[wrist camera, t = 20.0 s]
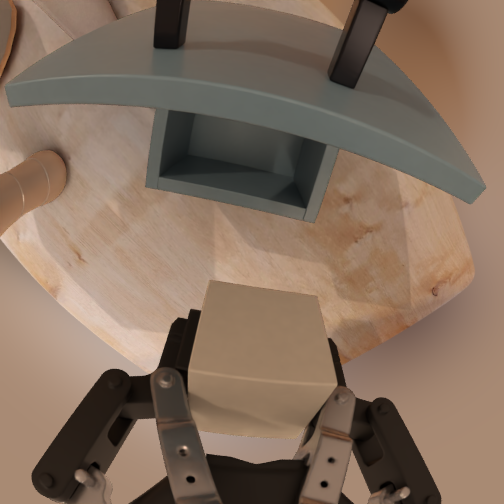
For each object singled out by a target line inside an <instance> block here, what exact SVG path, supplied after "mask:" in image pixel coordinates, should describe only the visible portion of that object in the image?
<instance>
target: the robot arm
mask: <svg viewBox="0 0 504 504" xmlns="http://www.w3.org/2000/svg"><path fill="white" fill-rule="evenodd" d="M200 315H201V311H200V310H194V309H190V312H189V316H188V319H184V318H179V317H178V318H177V319H176V320H175V321H174V322H173V323H172V325H171V328H170V331H169V334H168V337H167V341H166V343H165V347H164V350H163V353H162V356H161V359H160V363H159V366H158V367H157V369H156V370H155V371H154V372H153V373H151V374H149V375H146V376H129V375H128V374H127V373H126V372H124V371H123V370H120V369H110V370H107V371H105V372H104V373H103V374H102V375H101V377H100V378H99V379H98V381H97V382H96V383H95V384H94V386H93V387H92V388H91V390H90V391H89V392H88V394H87V395H86V396H85V398H84V399H83V400H82V402H81V403H80V404H79V406H78V407H77V409H76V410H75V411H74V413H73V414H72V415H71V417H70V418H69V419H68V421H67V422H66V424H65V425H64V427H63V428H62V429H61V431H60V432H59V433H58V435H57V436H56V438H55V439H54V441H53V442H52V443H51V445H50V446H49V448H48V449H47V451H46V452H45V453H44V455H43V456H42V458H41V459H40V461H39V462H38V464H37V465H36V467H35V468H34V470H33V472H32V482H33V485H34V487H35V489H36V490H37V491H38V492H39V493H40V494H41V495H43V496H45V497H47V498H49V499H51V500H52V501H55V502H57V503H59V504H111V499H110V497H111V494H112V484H111V481H110V480H109V479H108V478H107V476H105V473H106V471H107V470H108V468H109V466H110V465H111V463H112V461H113V460H114V458H115V456H116V454H117V453H118V451H119V449H120V448H121V446H122V445H123V443H124V441H125V440H126V438H127V436H128V434H129V433H130V431H131V429H132V428H133V426H134V424H135V423H136V421H137V419H149V418H156V424H157V430H158V435H159V440H160V445H161V450H162V454H163V459H164V463H165V467H166V471H167V476H166V477H165V478H164V479H162V480H161V481H160V482H158V483H157V484H156V485H154V486H153V487H152V488H150V489H149V490H147V491H146V492H145V493H144V494H142V495H141V496H139V497H138V498H137V499H135V500H133V501H132V502H130V503H129V504H354V503H353V502H351V501H350V500H349V499H348V498H347V497H346V496H345V495H344V494H343V493H342V492H341V491H342V487H343V483H344V480H345V476H346V472H347V467H348V464H349V459H350V455H351V451H353V453H354V455H355V458H356V460H357V463H358V465H359V467H360V469H361V472H362V474H363V476H364V479H365V481H366V483H367V486H368V488H369V491H370V493H371V496H370V498H369V500H368V504H441V495H440V493H439V491H438V488H437V486H436V484H435V482H434V480H433V478H432V476H431V474H430V472H429V470H428V468H427V466H426V464H425V462H424V460H423V458H422V456H421V454H420V452H419V450H418V448H417V446H416V445H415V443H414V441H413V439H412V437H411V435H410V433H409V431H408V429H407V427H406V426H405V424H404V422H403V420H402V418H401V416H400V415H399V413H398V411H397V409H396V407H395V406H394V404H393V403H392V402H391V401H390V400H389V399H386V398H377V399H375V400H374V401H373V402H369V401H365V400H362V399H359V398H356V397H355V395H354V394H353V392H352V391H351V390H350V389H348V388H347V387H346V383H345V379H344V374H343V370H342V366H341V363H340V358H339V356H338V355H339V354H338V350H337V346H336V344H335V343H334V342H333V340H332V339H331V338H328V342H329V346H330V351H331V355H332V360H333V364H334V369H335V373H336V378H337V383H338V384H337V387H336V388H335V389H334V391H333V392H332V394H331V395H330V396H329V398H328V399H327V400H326V402H325V403H324V404H323V406H322V407H321V408H320V410H319V411H318V412H317V413H316V415H315V416H314V417H313V419H312V420H311V421H310V422H309V423H308V425H307V426H306V428H305V431H304V434H303V437H302V440H301V443H300V445H299V448H298V451H297V452H296V454H295V456H294V458H293V459H292V460H277V461H271V462H266V463H261V464H253V463H249V462H246V461H243V460H240V459H236V458H233V457H228V456H219V455H212V454H206V456H205V453H204V450H203V447H202V443H201V440H200V437H199V433H198V429H197V426H196V423H195V421H194V419H193V418H192V414H191V410H190V406H189V402H188V368H189V363H190V359H191V354H192V350H193V345H194V341H195V336H196V332H197V328H198V323H199V319H200Z"/></svg>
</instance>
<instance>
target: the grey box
mask: <svg viewBox="0 0 504 504" xmlns="http://www.w3.org/2000/svg"><path fill="white" fill-rule="evenodd" d="M338 152H339V148H337V147H334V146H331V145H328V144H324V143H321V142H318V141H315V140H311V139H308V138H304V137H301V136H297V135H294V134H290V133H286V132H282V131H279V130H275V129H271V128H266V127H262V126H258V125H253V124H249V123H244V122H240V121H235V120H230V119H225V118H219V117H214V116H208V115H202V114H196V113H189V112H182V111H174V110H166V109H158V108H156V111H155V117H154V123H153V129H152V136H151V143H150V150H149V158H148V166H147V175H146V185H145V187H147V188H152V189H158V190H163V191H168V192H174V193H179V194H184V195H189V196H194V197H199V198H204V199H209V200H214V201H218V202H223V203H228V204H232V205H237V206H242V207H246V208H251V209H255V210H259V211H264V212H268V213H272V214H277V215H281V216H285V217H289V218H293V219H297V220H303V221H306V222H310V223H315V221H316V218H317V215H318V212H319V209H320V206H321V204H322V201H323V198H324V195H325V192H326V189H327V186H328V183H329V180H330V177H331V174H332V170H333V167H334V164H335V161H336V158H337V155H338Z"/></svg>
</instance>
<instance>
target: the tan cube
mask: <svg viewBox="0 0 504 504" xmlns="http://www.w3.org/2000/svg"><path fill="white" fill-rule="evenodd" d="M337 384H338V383H337V378H336V373H335V369H334V364H333V360H332V355H331V351H330V346H329V342H328V338H327V334H326V330H325V325H324V321H323V317H322V313H321V309H320V305H319V301H318V297H317V296H315V295H307V294H300V293H293V292H286V291H279V290H272V289H265V288H258V287H252V286H245V285H239V284H233V283H226V282H220V281H214V280H209V282H208V286H207V290H206V294H205V298H204V302H203V307H202V311H201V315H200V319H199V323H198V328H197V332H196V336H195V341H194V345H193V350H192V354H191V359H190V363H189V368H188V402H189V406H190V410H191V414H192V418H193V419H194V421H195V423H196V426H197V429H198V430H199V431H205V432H212V433H219V434H227V435H237V436H247V437H260V438H285V439H295V438H297V437H298V436H299V434H300V433H301V432H302V431H303V430H304V428H305V427H306V426H307V425H308V423H309V422H310V421H311V420H312V419H313V417H314V416H315V415H316V413H317V412H318V411H319V410H320V408H321V407H322V406H323V404H324V403H325V402H326V400H327V399H328V398H329V396H330V395H331V394H332V392H333V391H334V389H335V388H336V387H337Z"/></svg>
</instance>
